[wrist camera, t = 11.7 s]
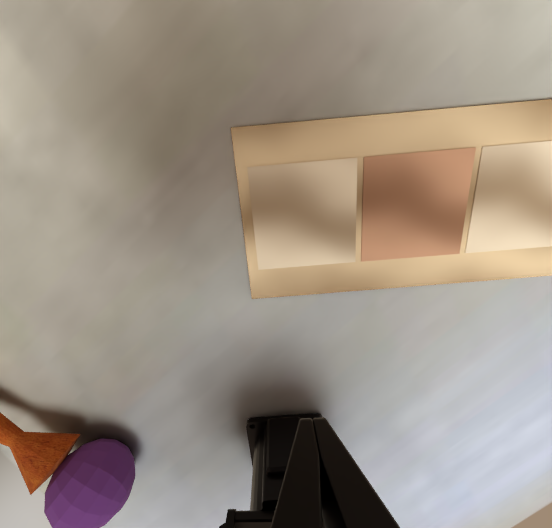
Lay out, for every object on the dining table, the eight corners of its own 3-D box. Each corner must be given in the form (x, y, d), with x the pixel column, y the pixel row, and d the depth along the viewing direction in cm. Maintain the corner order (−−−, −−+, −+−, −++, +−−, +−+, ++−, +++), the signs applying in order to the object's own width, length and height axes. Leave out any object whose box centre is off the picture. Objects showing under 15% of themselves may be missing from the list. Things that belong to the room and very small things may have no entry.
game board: (662, 265, 19) (668, 266, 18) (252, 297, 19) (251, 299, 19) (741, 82, 15) (750, 81, 15) (231, 128, 15) (230, 127, 15)
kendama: (-156, 353, 16) (128, 514, 19) (-44, 318, 22) (159, 445, 25) (-206, 426, 16) (79, 572, 19) (-83, 372, 22) (121, 491, 25)
